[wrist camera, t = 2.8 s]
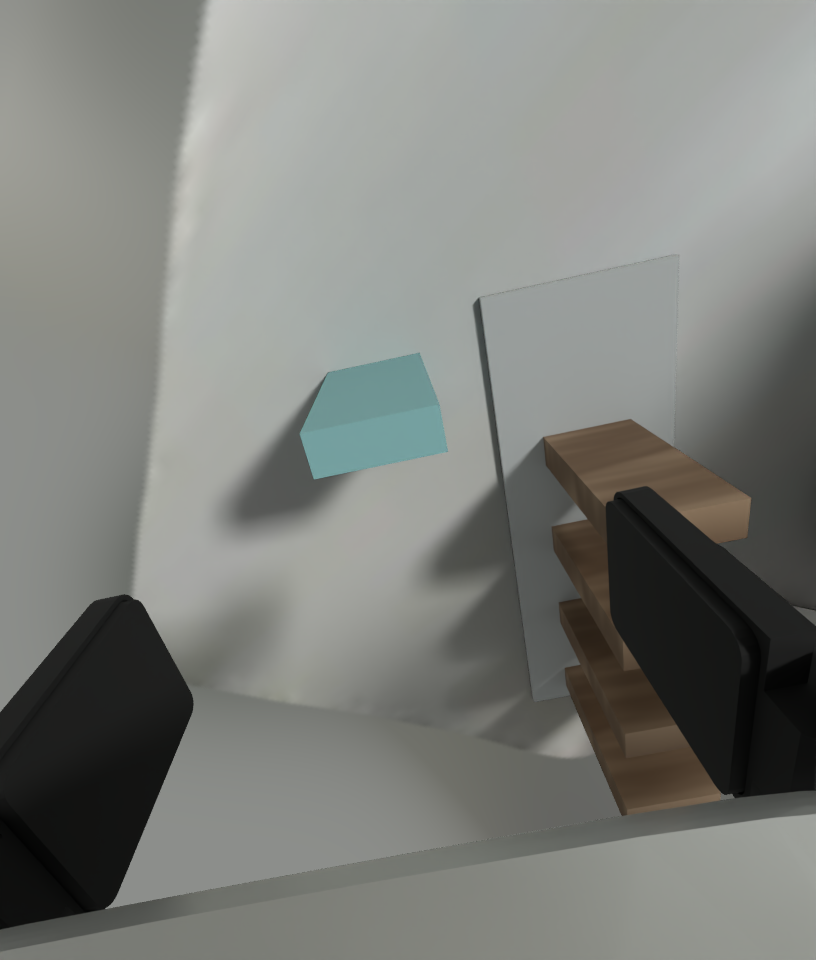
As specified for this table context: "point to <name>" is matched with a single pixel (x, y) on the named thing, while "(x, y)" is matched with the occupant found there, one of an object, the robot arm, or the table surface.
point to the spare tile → (373, 418)
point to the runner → (571, 414)
